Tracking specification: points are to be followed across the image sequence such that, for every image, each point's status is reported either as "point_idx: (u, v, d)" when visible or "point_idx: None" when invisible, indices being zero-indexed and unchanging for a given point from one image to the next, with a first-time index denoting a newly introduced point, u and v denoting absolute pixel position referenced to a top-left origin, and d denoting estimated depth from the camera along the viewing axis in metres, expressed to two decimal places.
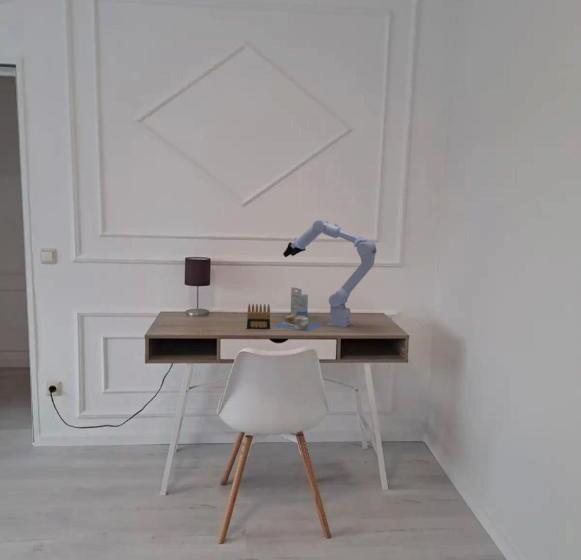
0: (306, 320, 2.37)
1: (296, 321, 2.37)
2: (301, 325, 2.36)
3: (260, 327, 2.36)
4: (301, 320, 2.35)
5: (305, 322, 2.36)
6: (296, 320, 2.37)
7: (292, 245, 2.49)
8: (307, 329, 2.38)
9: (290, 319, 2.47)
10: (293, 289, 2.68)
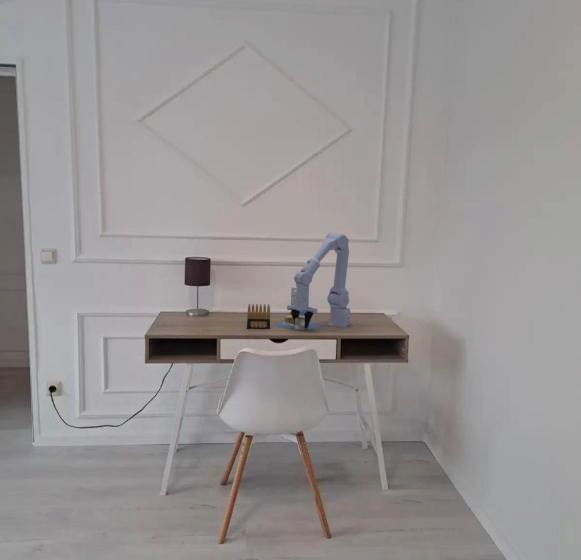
0: None
1: (296, 321, 2.37)
2: (301, 325, 2.36)
3: (260, 327, 2.36)
4: (301, 320, 2.35)
5: None
6: (296, 320, 2.37)
7: (316, 311, 2.34)
8: (307, 329, 2.38)
9: (290, 319, 2.47)
10: (293, 289, 2.68)
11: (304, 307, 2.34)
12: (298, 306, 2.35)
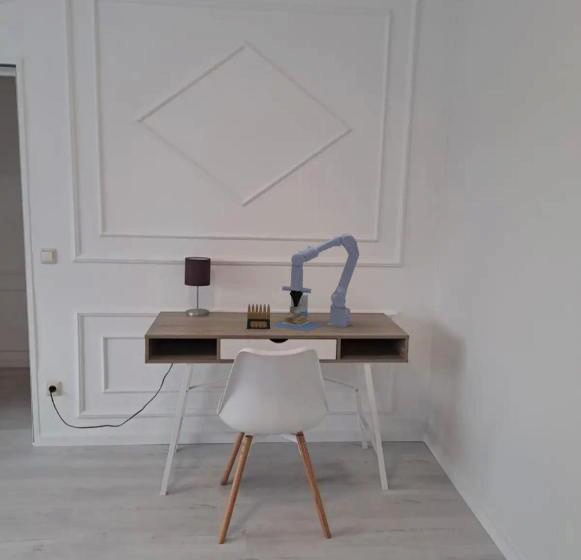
0: (300, 308, 2.49)
1: (290, 309, 2.49)
2: (295, 313, 2.48)
3: (260, 327, 2.36)
4: (295, 308, 2.47)
5: (299, 310, 2.48)
6: (290, 308, 2.49)
7: (310, 291, 2.45)
8: (307, 329, 2.38)
9: (290, 319, 2.47)
10: None
11: (298, 287, 2.46)
12: (293, 286, 2.46)
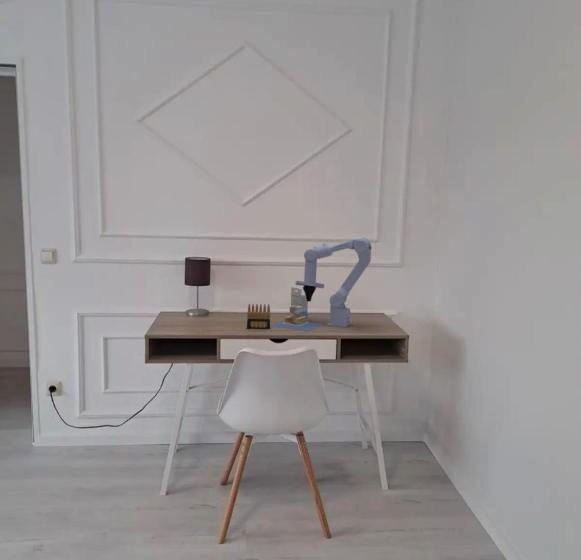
0: (300, 308, 2.49)
1: (290, 309, 2.49)
2: (295, 313, 2.48)
3: (260, 327, 2.36)
4: (295, 308, 2.47)
5: (299, 310, 2.48)
6: (290, 308, 2.49)
7: (323, 286, 2.50)
8: (307, 329, 2.38)
9: (290, 319, 2.47)
10: (293, 289, 2.68)
11: (312, 282, 2.50)
12: (306, 281, 2.50)
